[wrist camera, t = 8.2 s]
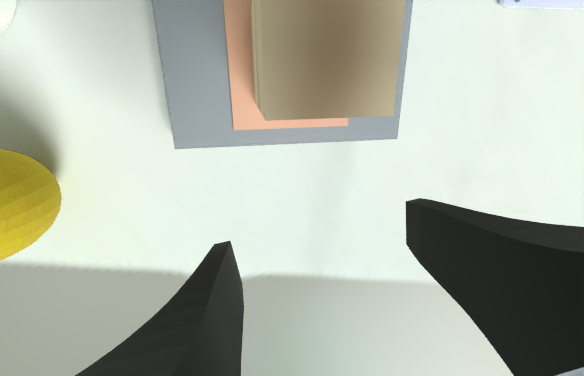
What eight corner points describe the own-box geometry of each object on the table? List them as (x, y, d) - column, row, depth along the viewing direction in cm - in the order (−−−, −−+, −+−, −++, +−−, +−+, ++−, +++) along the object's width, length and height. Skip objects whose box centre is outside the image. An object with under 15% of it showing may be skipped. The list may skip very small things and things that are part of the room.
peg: (331, 16, 16) (409, -39, 8) (328, 100, 17) (393, 115, 10) (249, 15, 15) (257, -46, 8) (255, 102, 17) (265, 120, 9)
